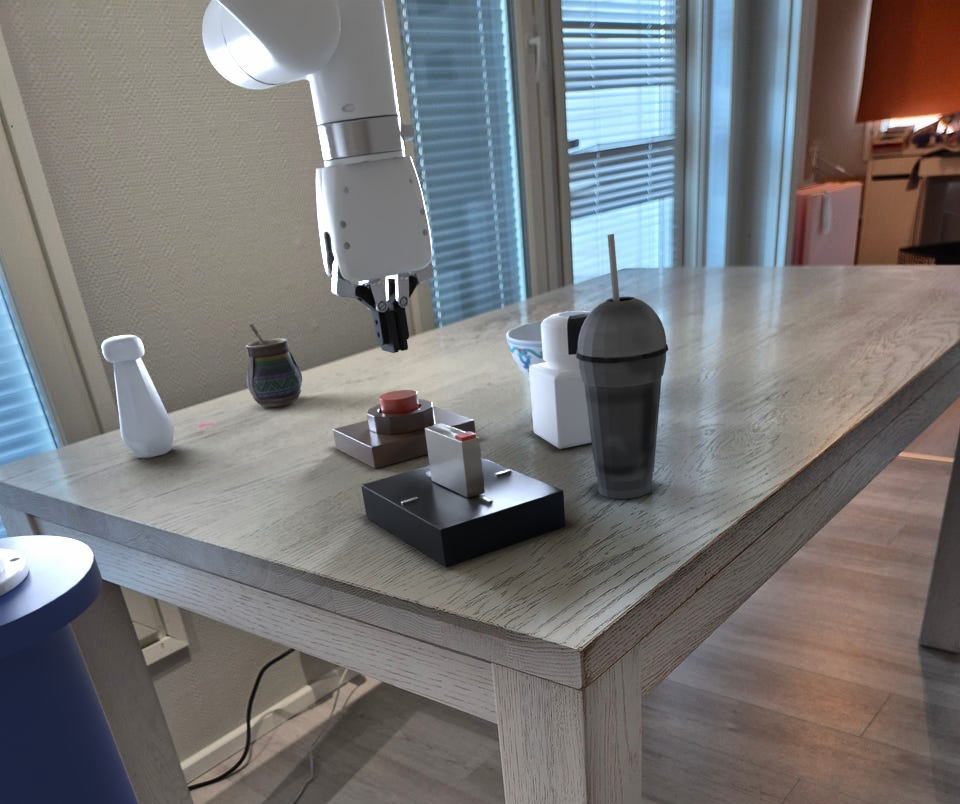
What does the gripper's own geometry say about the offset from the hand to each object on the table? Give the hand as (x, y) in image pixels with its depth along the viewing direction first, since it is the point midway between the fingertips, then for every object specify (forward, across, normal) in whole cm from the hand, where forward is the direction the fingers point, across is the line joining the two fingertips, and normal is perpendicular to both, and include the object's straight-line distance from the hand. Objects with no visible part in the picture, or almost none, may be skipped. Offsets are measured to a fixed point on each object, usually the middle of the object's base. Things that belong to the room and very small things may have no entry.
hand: (394, 349), depth 88 cm
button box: (+10, 0, 0) cm, 10 cm away
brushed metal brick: (+7, +7, +24) cm, 26 cm away
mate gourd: (+10, +4, -32) cm, 34 cm away
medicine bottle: (+10, -14, +12) cm, 21 cm away
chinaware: (+10, -24, -2) cm, 26 cm away
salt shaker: (+10, +22, -22) cm, 33 cm away
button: (+6, 0, 0) cm, 6 cm away
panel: (+10, +8, +24) cm, 27 cm away
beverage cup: (+10, -6, +28) cm, 30 cm away
